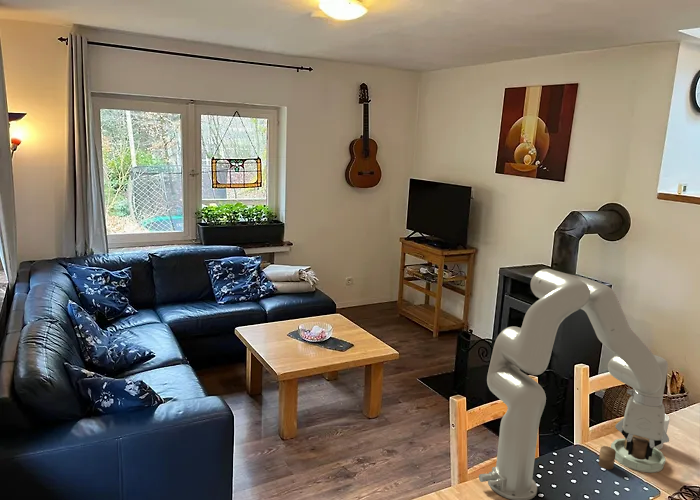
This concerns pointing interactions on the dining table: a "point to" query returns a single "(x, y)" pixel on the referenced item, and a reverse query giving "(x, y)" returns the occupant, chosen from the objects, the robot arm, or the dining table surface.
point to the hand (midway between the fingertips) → (638, 454)
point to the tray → (643, 465)
